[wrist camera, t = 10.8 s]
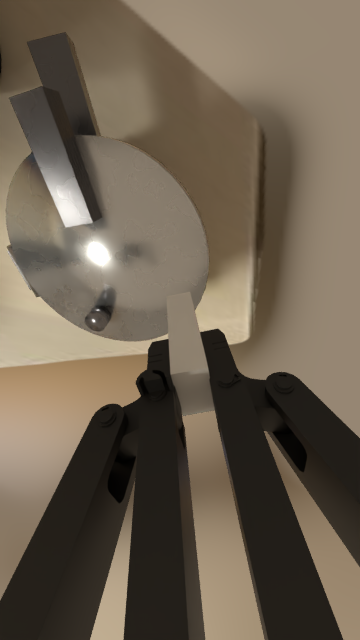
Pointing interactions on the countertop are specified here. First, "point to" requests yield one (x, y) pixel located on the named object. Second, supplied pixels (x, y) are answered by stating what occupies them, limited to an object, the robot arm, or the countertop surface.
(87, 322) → the lid
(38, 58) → the pot
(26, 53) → the countertop surface
